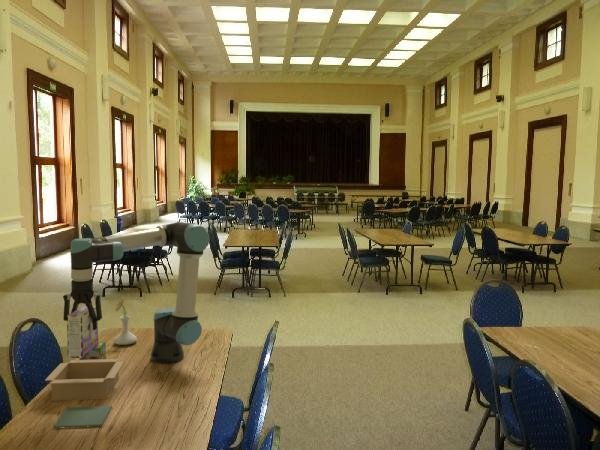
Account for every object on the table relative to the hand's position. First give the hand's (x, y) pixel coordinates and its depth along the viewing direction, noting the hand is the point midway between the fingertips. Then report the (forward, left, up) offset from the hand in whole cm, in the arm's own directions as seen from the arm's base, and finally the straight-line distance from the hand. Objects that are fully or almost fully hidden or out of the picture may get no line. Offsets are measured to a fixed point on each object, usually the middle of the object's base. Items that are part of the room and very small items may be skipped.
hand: (83, 337), depth 196 cm
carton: (+1, -6, -23) cm, 24 cm away
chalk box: (+4, -26, -24) cm, 35 cm away
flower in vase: (-2, -60, -24) cm, 65 cm away
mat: (-5, +18, -23) cm, 30 cm away
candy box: (0, 0, -6) cm, 6 cm away
